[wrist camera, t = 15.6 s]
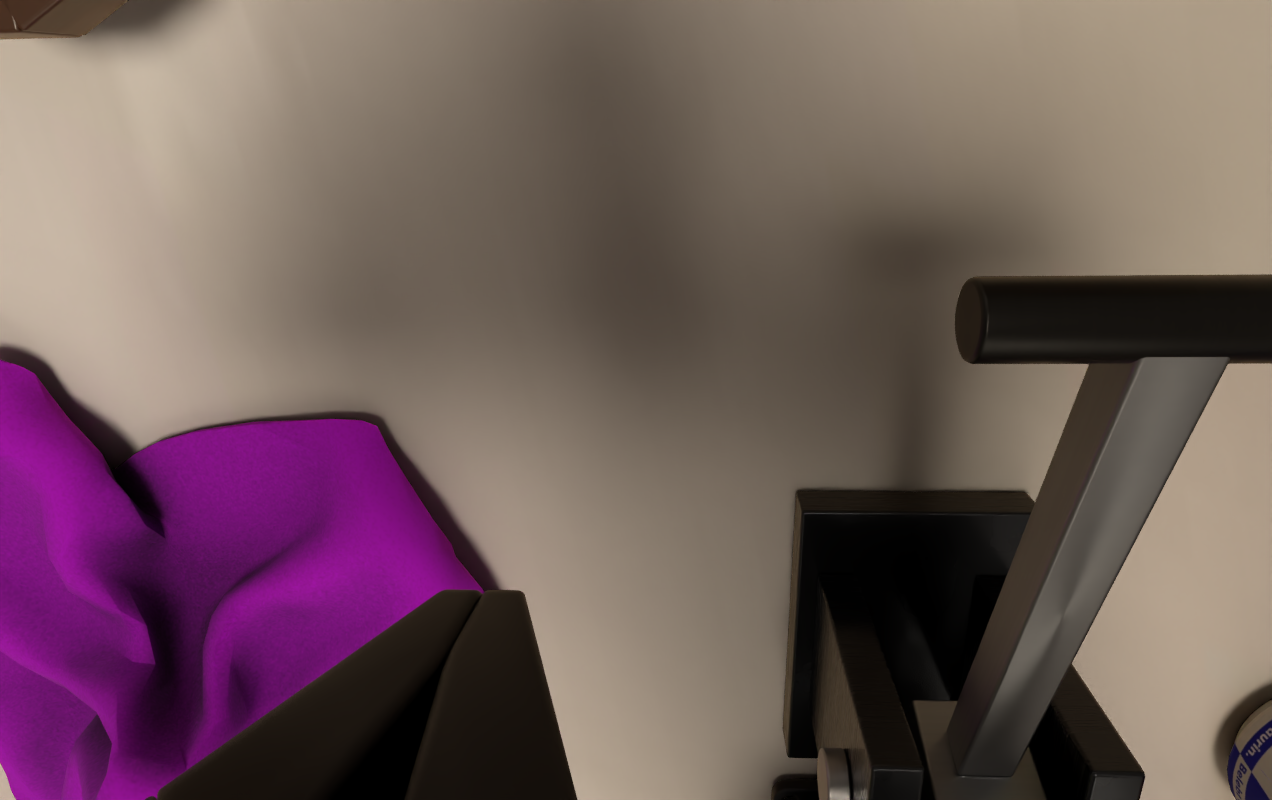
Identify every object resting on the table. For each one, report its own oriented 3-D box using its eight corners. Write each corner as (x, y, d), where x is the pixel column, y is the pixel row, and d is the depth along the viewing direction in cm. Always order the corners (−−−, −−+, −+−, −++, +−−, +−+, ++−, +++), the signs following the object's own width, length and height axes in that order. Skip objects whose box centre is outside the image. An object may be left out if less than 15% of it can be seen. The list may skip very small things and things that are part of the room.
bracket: (795, 489, 22) (851, 689, 15) (1026, 491, 22) (1198, 695, 15) (782, 728, 25) (823, 993, 18) (986, 732, 25) (1113, 1004, 18)
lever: (951, 234, 11) (1006, 341, 9) (1348, 231, 11) (1487, 339, 9) (830, 761, 20) (845, 869, 18) (1046, 766, 20) (1084, 876, 18)
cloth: (-185, 337, 22) (-494, 429, 16) (521, 373, 21) (461, 482, 16) (12, 936, 30) (-147, 1140, 24) (529, 975, 29) (492, 1194, 24)
